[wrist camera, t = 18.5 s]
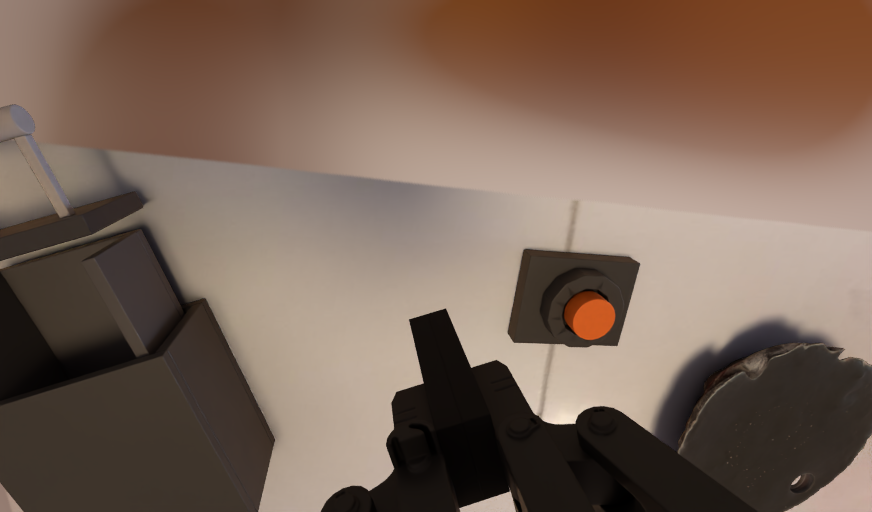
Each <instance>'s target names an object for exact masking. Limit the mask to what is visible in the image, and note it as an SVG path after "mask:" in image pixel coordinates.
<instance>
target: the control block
mask: <svg viewBox="0 0 872 512" xmlns="http://www.w3.org/2000/svg"><path fill="white" fill-rule="evenodd" d="M639 266H640V263H638V262H637V261H635V260H633V259H631V258H630V257H619V256H605V255H592V254H578V253H565V252H551V251H538V250H524V253H523V258H522V263H521V268H520V273H519V278H518V284H517V289H516V294H515V299H514V304H513V309H512V315H511V320H510V325H509V330H508V334H509V336H510V338H511V339H512V341H513V342H514V343H542V344H565V345H566V346H568V347H589V346H592V345H604V346H618V342H619V339H620V335H621V331H622V328H623V324H624V321H625V317H626V313H627V310H628V306H629V303H630V299H631V295H632V292H633V288H634V285H635V281H636V277H637V274H638V270H639ZM583 291H593V292H596V293H598V294H599V295H600V296H602V297H603V298H604V299H605V300H607V301H608V302H609V303H610V304H611V305H612V306H613V308H614V311H615V321H614V324H613V326H612V327H611V329H610V330H609V331H608V332H607V333H606V334H605V335H604V336H602V337H600V338H598V339H594V340H586V339H583V338H581V337H579V336H578V335H577V334H576V333H575V332H574V331H573V330H572V329H571V328H570V327H569V326H568V324H567V323H566V321H565V318H564V310H565V307H566V305H567V303H568V301H569V300H570V299H571V298H572V297H573V296H575V295H576V294H578V293H580V292H583Z"/></svg>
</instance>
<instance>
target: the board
mask: <svg viewBox="0 0 872 512" xmlns="http://www.w3.org/2000/svg"><path fill="white" fill-rule="evenodd" d="M844 350H845V349H844V348H836V347H826V345H825V344H824V343H789V344H781V345H777V346H773V347H770V348H767V349H764V350H761V351H758V352H755V353H754V354H752V355H750V356H748V357H747V358H743V359H739V360H736V361H734V362H732V363H730V364H729V365H728V366H726V368H724V369H720V370H718V371H717V372H715V373H713V374H712V375H711V376H710V377H709V378H708V379H707V381H705V384H704V393H703V395H702V396H701V397H700V398H699V399H698V402H697V404H696V405H695V407H694V409H693V412H692V414H691V416H690V418H689V419H688V421H687V423H686V430H685V431H684V432H683V434H682V435H681V437H680V439H679V441H678V445H679V450H678V451H677V453H678V454H680V455H681V456H682V457H684V458H685V459H686V460H688V461H689V462H691V463H692V464H693V465H695V466H696V467H697V468H699V469H700V470H702V471H703V472H704V473H706V474H707V475H708V476H710V477H711V478H713V479H714V480H715V481H717V482H718V483H719V484H721V485H722V486H723V487H725V488H726V489H728V490H729V491H730V492H732V493H733V494H734V495H736V496H737V497H739V498H740V499H741V500H743V501H744V502H745V503H747V504H748V505H750V506H751V507H752V508H754V509H755V510H756V511H758V512H784V511H787V510H789V509H791V508H793V507H794V506H797V505H799V504H800V503H802V502H804V501H805V500H807V499H808V498H809V497H810V496H812V495H814V494H815V493H816V492H817V491H819V489H821V488H822V487H824V486H826V485H827V484H828V483H830V482H831V481H832V480H834V478H835V477H836V476H838V475H839V474H840V473H842V472H843V471H844V470H845V469H846V468H847V466H849V465H850V464H851V463H852V461H853V460H854V458H855V457H856V456H857V455H858V453H859V452H860V451H861V450H862V449H863V448H864V446H865V443H866V441H867V439H868V438H869V437H870V436H871V435H872V365H870V364H868V363H867V362H866V361H864V360H863V359H859V358H853V357H848V358H845V359H842V360H839V359H838V356H839V355H840V354H841V353H842V352H843V351H844ZM800 475H801V478H800V480H799V481H798V482H797V483H796V484H794V485H791V484H792V482H793V481H794V480H795V479H796V478H798V476H800Z"/></svg>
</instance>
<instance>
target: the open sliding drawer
mask: <svg viewBox="0 0 872 512" xmlns="http://www.w3.org/2000/svg"><path fill="white" fill-rule="evenodd" d="M34 131H35V124H34V121H33V119H32V118H31V116H30V115H29V113H28V112H27V111H26V110H25V109H24V108H22V107H20V106H18V105H9V106H5V107H1V108H0V142H3V141H7V140H10V139H14V140H15V141H16V143H17V145H18V146H19V148H20V150H21V152H22V153H23V155H24V157H25V159H26V160H27V162H28V164H29V165H30V167H31V169H32V171H33V172H34V174H35V176H36V177H37V179H38V181H39V183H40V184H41V186H42V188H43V190H44V191H45V193H46V195H47V196H48V198H49V200H50V202H51V203H52V205H53V207H54V208H55V210H56V212H57V213H56V214H53V215H49V216H46V217H42V218H39V219H35V220H32V221H28V222H25V223H21V224H18V225H14V226H10V227H7V228H3V229H0V261H1V260H5V259H8V258H12V257H15V256H19V255H22V254H26V253H29V252H33V251H36V250H40V249H43V248H46V247H50V246H53V245H57V244H60V243H64V242H67V241H71V240H74V239H78V238H81V237H85V236H88V235H92V234H94V233H96V232H98V231H99V230H101V229H103V228H105V227H107V226H109V225H111V224H113V223H115V222H117V221H118V220H120V219H122V218H124V217H126V216H128V215H130V214H132V213H134V212H136V211H137V210H139V209H141V208H143V205H142V203H141V201H140V199H139V197H138V195H137V193H136V192H135V191H134V192H130V193H127V194H123V195H120V196H116V197H113V198H109V199H106V200H102V201H99V202H95V203H92V204H88V205H85V206H81V207H78V208H74V209H73V208H72V206H71V204H70V202H69V200H68V199H67V197H66V195H65V193H64V192H63V190H62V188H61V186H60V185H59V183H58V181H57V179H56V177H55V176H54V174H53V172H52V170H51V169H50V167H49V165H48V163H47V162H46V160H45V158H44V156H43V155H42V153H41V151H40V149H39V147H38V146H37V144H36V142H35V140H34V139H33V137H32V135H29V134H32V133H33V132H34ZM184 315H185V313H184V311H183V309H182V307H181V305H180V304H179V302H178V300H177V298H176V296H175V294H174V292H173V290H172V288H171V286H170V284H169V282H168V280H167V278H166V277H165V275H164V273H163V271H162V269H161V267H160V265H159V263H158V261H157V259H156V257H155V255H154V253H153V251H152V250H151V248H150V246H149V244H148V242H147V240H146V238H145V236H144V234H143V232H142V230H141V229H138V230H134V231H131V232H127V233H124V234H121V235H117V236H114V237H110V238H107V239H103V240H100V241H96V242H93V243H89V244H86V245H82V246H79V247H76V248H72V249H69V250H65V251H62V252H58V253H55V254H51V255H48V256H44V257H41V258H37V259H34V260H31V261H27V262H24V263H20V264H17V265H13V266H10V267H6V268H3V269H0V401H2V400H5V399H8V398H11V397H15V396H18V395H21V394H24V393H28V392H31V391H34V390H37V389H41V388H44V387H47V386H50V385H54V384H57V383H60V382H63V381H67V380H70V379H73V378H77V377H80V376H83V375H86V374H90V373H93V372H96V371H99V370H103V369H106V368H109V367H112V366H116V365H119V364H122V363H125V362H129V361H132V360H135V359H138V358H142V357H145V356H148V355H151V354H155V353H156V351H157V350H158V349H159V347H160V346H161V345H162V344H163V342H164V341H165V340H166V339H167V337H168V336H169V335H170V333H171V332H172V331H173V330H174V328H175V327H176V326H177V324H178V323H179V322H180V321H181V319H182V318H183V317H184Z"/></svg>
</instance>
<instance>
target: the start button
mask: <svg viewBox="0 0 872 512" xmlns="http://www.w3.org/2000/svg"><path fill="white" fill-rule="evenodd" d="M564 318H565V321H566V323H567V324H568V326H569V327H570V328H571V329H572V330H573V331H574V332H575V333H576V334H577V335H578V336H579V337H581V338H583V339H586V340H594V339H598V338H600V337H602V336H604V335H605V334H606V333H607V332H608V331H609V330H610V329H611V327H612V326H613V324H614V321H615V311H614V308H613V306H612V305H611V304H610V303H609V302H608V301H607V300H605V299H604V298H603V297H602V296H600V295H599V294H598V293H596V292H593V291H583V292H580V293H578V294H576V295H575V296H573V297H572V298H571V299H570V300H569V301H568V303H567V305H566V307H565V310H564Z"/></svg>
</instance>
